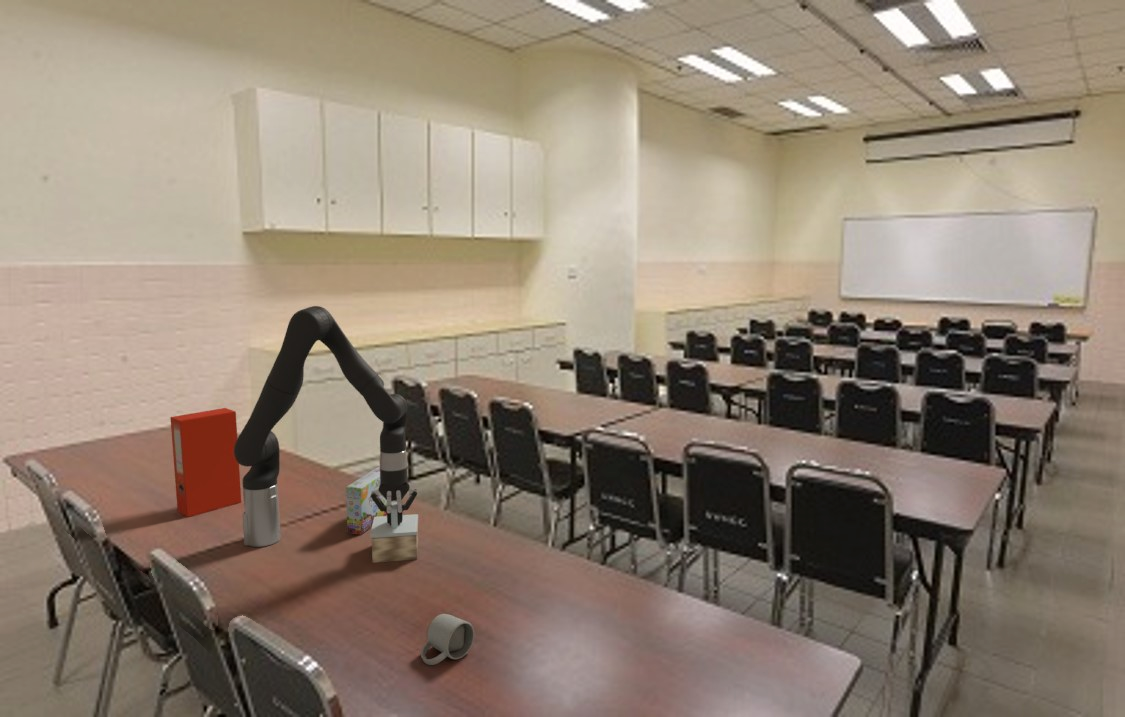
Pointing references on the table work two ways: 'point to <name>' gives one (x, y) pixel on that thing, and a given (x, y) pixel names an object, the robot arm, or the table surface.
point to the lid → (394, 525)
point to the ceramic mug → (448, 638)
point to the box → (395, 548)
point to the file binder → (205, 461)
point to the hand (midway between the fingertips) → (395, 523)
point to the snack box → (363, 503)
